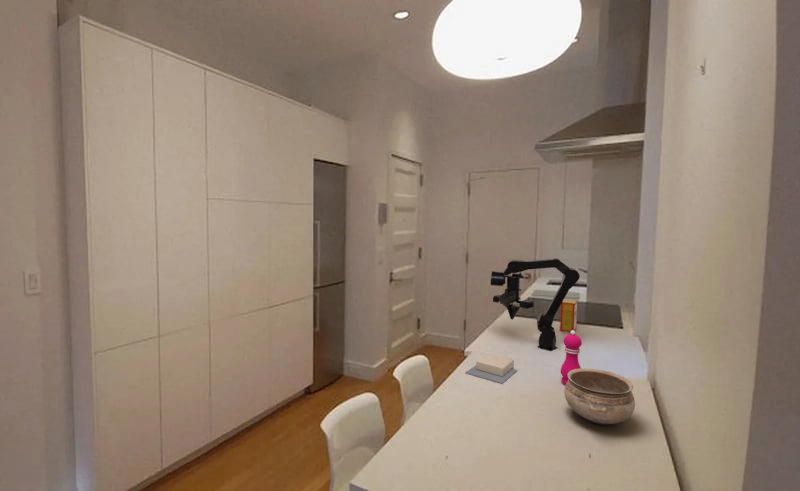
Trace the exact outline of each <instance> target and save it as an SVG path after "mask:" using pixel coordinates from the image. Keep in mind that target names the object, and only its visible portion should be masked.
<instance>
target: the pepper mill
mask: <svg viewBox="0 0 800 491" xmlns="http://www.w3.org/2000/svg"><path fill="white" fill-rule="evenodd" d="M576 333H577V332H576V330H575V331H574V330H572V331H571V332H570V334H566V335H565V336H564V337H563V345H564V351H565V360H564V362H563V363H562V365H561V367H560V370H559V371H560V374H561V382H560V383H561V384H562V385H563V386H564V387H565V386H566V383H567V381H568V379H569V378H568V373H569V372H570V371H572V370H574V369H581V368H582V367H581V365H580V363H579V354H581V353H580V352H581V348H580V347H581V346H582V343H583V342H582V338H581V337H580V336H579V335H577V334H576Z"/></svg>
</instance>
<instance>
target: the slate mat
mask: <svg viewBox="0 0 800 491" xmlns="http://www.w3.org/2000/svg"><path fill="white" fill-rule="evenodd" d="M517 372H518V369H516V368H512V369H511V370H510V371H508V372H507V373H506V374H505V375H504V376H500V375H496V374H492V373H489V372H485V371H482V370H478V369H476V365H474V366H472V367H471V368H470V369H468V370H467V371H465V374H467V375H470V376H473V377H477V378H480V379H484V380H486V381H491V382H492V383H497V384H500V385H503V384H504V383H506V382H507V380H508V379H510V378H511V377H512V376H514V374H516V373H517Z"/></svg>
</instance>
